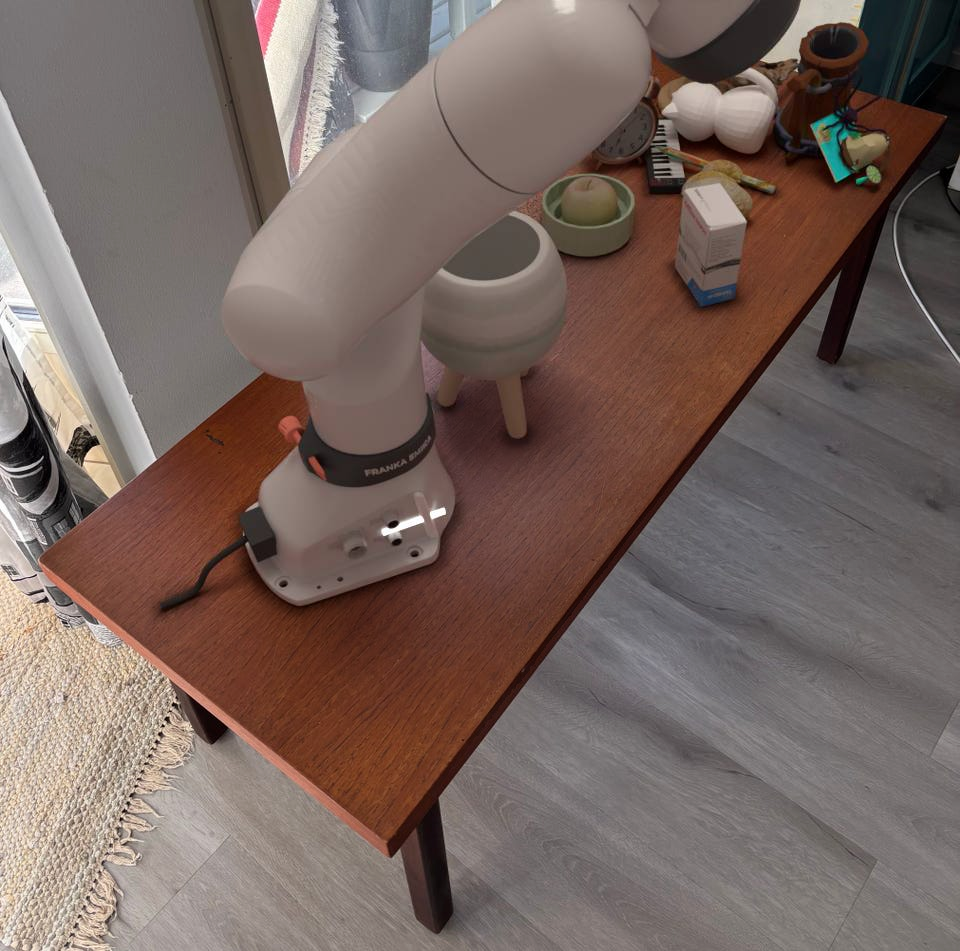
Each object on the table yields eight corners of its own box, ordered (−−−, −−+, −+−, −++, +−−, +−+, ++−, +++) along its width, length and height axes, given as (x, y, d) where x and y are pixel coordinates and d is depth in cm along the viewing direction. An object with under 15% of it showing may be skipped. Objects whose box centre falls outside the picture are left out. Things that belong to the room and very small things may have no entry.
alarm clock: (585, 176, 139) (589, 77, 128) (575, 158, 142) (578, 59, 131) (658, 163, 140) (668, 63, 129) (646, 145, 143) (655, 46, 132)
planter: (542, 342, 118) (542, 183, 101) (583, 438, 108) (590, 280, 91) (412, 369, 117) (389, 212, 99) (441, 470, 106) (421, 314, 89)
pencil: (652, 151, 139) (771, 195, 134) (654, 144, 138) (774, 188, 134) (655, 148, 140) (774, 191, 135) (657, 140, 139) (777, 184, 134)
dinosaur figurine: (797, 119, 147) (777, 90, 153) (814, 81, 143) (794, 53, 149) (713, 105, 144) (697, 76, 150) (729, 66, 140) (712, 38, 146)
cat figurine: (762, 145, 145) (667, 115, 147) (793, 65, 136) (691, 33, 138) (751, 174, 139) (651, 142, 142) (782, 92, 130) (675, 59, 132)
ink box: (735, 300, 121) (751, 221, 112) (697, 308, 121) (710, 229, 112) (708, 258, 127) (721, 179, 118) (672, 265, 126) (682, 187, 117)
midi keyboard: (686, 184, 135) (650, 185, 135) (685, 192, 136) (649, 193, 136) (675, 116, 146) (641, 117, 146) (674, 124, 147) (641, 125, 147)
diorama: (843, 200, 134) (877, 185, 129) (798, 98, 132) (830, 79, 127) (888, 174, 139) (922, 158, 134) (845, 75, 137) (878, 56, 132)
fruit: (621, 241, 129) (625, 189, 123) (567, 249, 128) (568, 197, 122) (608, 207, 134) (611, 155, 128) (555, 214, 133) (555, 163, 127)
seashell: (664, 197, 126) (711, 133, 133) (654, 231, 131) (701, 168, 138) (734, 228, 123) (779, 161, 130) (722, 262, 128) (765, 196, 136)
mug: (812, 190, 135) (837, 88, 123) (736, 164, 139) (754, 63, 128) (865, 128, 143) (894, 28, 132) (792, 106, 148) (813, 7, 136)
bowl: (575, 271, 126) (576, 240, 123) (525, 225, 133) (524, 193, 129) (649, 238, 130) (653, 206, 126) (597, 194, 137) (598, 163, 133)
